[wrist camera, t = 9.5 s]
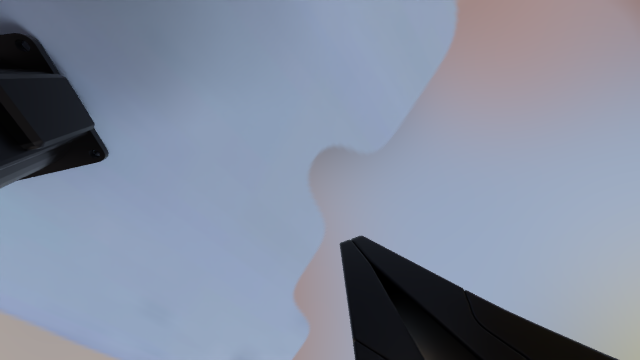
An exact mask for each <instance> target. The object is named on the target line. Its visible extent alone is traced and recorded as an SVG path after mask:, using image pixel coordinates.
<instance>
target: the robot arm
mask: <svg viewBox="0 0 640 360" xmlns="http://www.w3.org/2000/svg"><path fill="white" fill-rule="evenodd" d="M23 41H26V42H27V43H28V44H29V46H30V50H29V51H26V50H25V49H24V48H23V46H22V42H23ZM93 127H94V122H93V120H92V119H91V117H90V115H89V114H88V112H87V111H86V109H85V107H84V106H83V104H82V103H81V101H80V99H79V98H78V96H77V95H76V93H75V91H74V90H73V88H72V86H71V85H70V83H69V82H68V80H67V79H66V78H65V77H63V76H61V75H60V73H59V72H58V70H57V69H56V67H55V65H54V64H53V62H52V61H51V59H50V58H49V56H48V54H47V53H46V51H45V50H44V48H43V46H42V45H41V44H40V42H39V41H38V40H36V39H35V38H33V37H31V36H29V35H25V34H19V33H12V34H4V35H0V188H2V187H4V186H6V185H9V184H11V183H13V182H15V181H18V180H22V179H26V178H31V177H35V176H40V175H44V174H48V173H53V172H57V171H61V170H66V169H70V168H75V167H79V166H83V165H88V164H92V163H96V162H100V161H102V160H104V159H106V158H107V157H108V154H109V153H108V150H107V148H106V147H105V145H104V144H103V142H102V140H101V139H100V137H99V136H98V134H97V132H96V131H95V129H94V128H93ZM93 150H96V151H98V152H99V153H100V156H97V155H95V154H94V153H93ZM340 249H341V257H342V265H343V271H344V279H345V287H346V294H347V301H348V308H349V316H350V323H351V330H352V338H353V346H354V354H355V360H618V359H616V358H613V357H611V356H609V355H606V354H604V353H601V352H599V351H597V350H595V349H592V348H590V347H588V346H585V345H583V344H581V343H579V342H576V341H574V340H572V339H569V338H567V337H565V336H563V335H560V334H558V333H555V332H553V331H551V330H549V329H546V328H544V327H542V326H540V325H538V324H535V323H533V322H531V321H529V320H526V319H524V318H522V317H520V316H518V315H515V314H513V313H511V312H509V311H507V310H504V309H503V308H501V307H499V306H496V305H495V304H493V303H491V302H489V301H486V300H485V299H482V298H481V297H479V296H477V295H475V294H473V293H471V292H469V291H467V290H465V291H464V289H463V288H461V287H459V286H457V285H455V284H454V283H452V282H450V281H448V280H446V279H444V278H442V277H440V276H438V275H436V274H434V273H433V272H431V271H429V270H427V269H425V268H423V267H421V266H419V265H417V264H415V263H413V262H412V261H410V260H408V259H406V258H404V257H402V256H400V255H398V254H396V253H394V252H392V251H391V250H389V249H387V248H385V247H383V246H381V245H379V244H377V243H375V242H373V241H371V240H369V239H368V238H366V237H364V236H358V237H356V238H353V239H351V240H347V241H344V242H341V243H340Z"/></svg>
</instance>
